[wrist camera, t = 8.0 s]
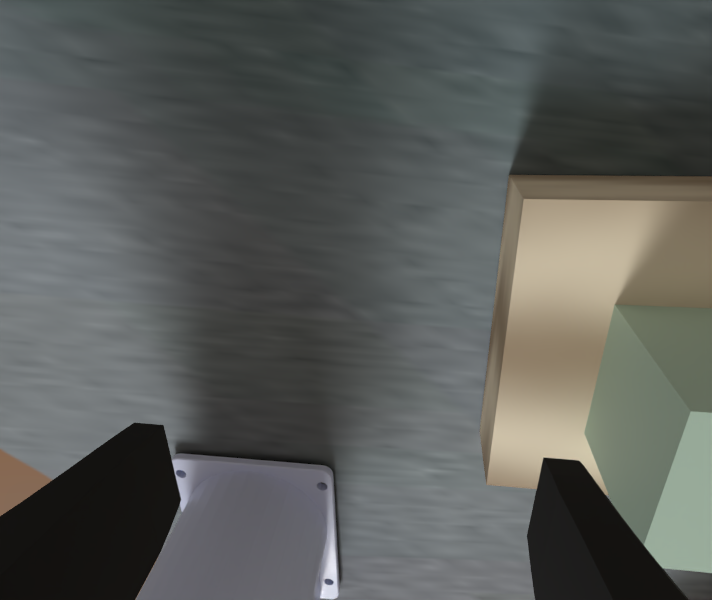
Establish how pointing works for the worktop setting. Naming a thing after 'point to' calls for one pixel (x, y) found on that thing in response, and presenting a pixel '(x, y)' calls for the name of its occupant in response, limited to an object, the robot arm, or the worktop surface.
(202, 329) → the worktop surface
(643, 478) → the sage cube
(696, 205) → the birch plinth
